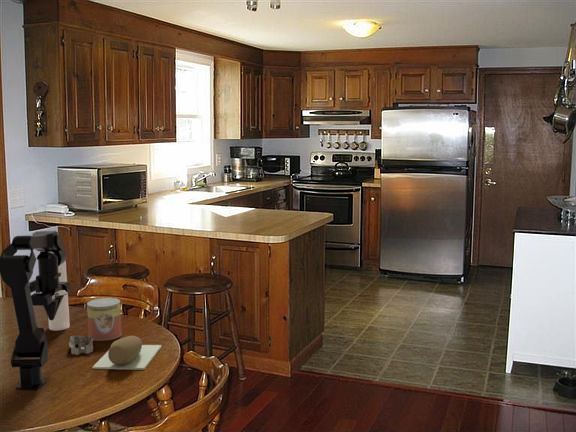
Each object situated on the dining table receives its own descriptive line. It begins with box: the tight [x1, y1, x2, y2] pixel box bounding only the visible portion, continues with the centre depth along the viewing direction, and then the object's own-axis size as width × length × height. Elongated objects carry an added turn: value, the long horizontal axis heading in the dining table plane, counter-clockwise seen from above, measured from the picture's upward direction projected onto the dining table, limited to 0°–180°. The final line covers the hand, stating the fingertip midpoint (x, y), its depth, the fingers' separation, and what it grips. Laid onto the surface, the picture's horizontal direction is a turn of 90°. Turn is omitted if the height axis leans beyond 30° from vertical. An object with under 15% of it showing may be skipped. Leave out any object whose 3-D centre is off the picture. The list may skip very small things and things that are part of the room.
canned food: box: [86, 297, 123, 342], centre depth 228 cm, size 11×11×12 cm
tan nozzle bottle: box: [107, 335, 143, 365], centre depth 204 cm, size 8×8×18 cm
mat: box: [92, 344, 162, 371], centre depth 207 cm, size 20×16×1 cm
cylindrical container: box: [47, 260, 71, 331], centre depth 236 cm, size 7×7×25 cm
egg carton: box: [68, 335, 95, 356], centre depth 215 cm, size 11×8×4 cm
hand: (51, 319), depth 204 cm, fingers closed
